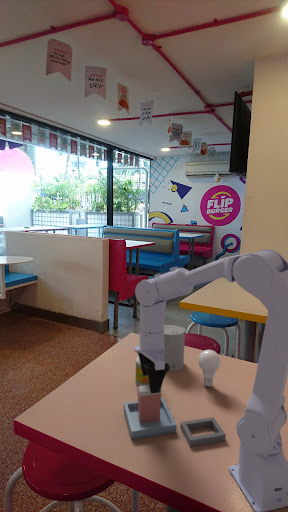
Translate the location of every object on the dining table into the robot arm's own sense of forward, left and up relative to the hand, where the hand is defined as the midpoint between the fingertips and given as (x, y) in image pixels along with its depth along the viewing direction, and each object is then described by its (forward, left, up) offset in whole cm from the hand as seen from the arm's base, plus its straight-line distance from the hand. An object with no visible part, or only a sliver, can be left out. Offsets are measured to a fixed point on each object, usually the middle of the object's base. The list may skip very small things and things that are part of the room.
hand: (150, 383), depth 72 cm
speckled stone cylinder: (+26, -14, -10) cm, 31 cm away
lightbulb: (+11, -21, -10) cm, 26 cm away
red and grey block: (0, 0, -9) cm, 9 cm away
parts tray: (0, 0, -10) cm, 10 cm away
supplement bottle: (+17, -3, -10) cm, 20 cm away
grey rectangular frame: (-7, -11, -10) cm, 16 cm away
